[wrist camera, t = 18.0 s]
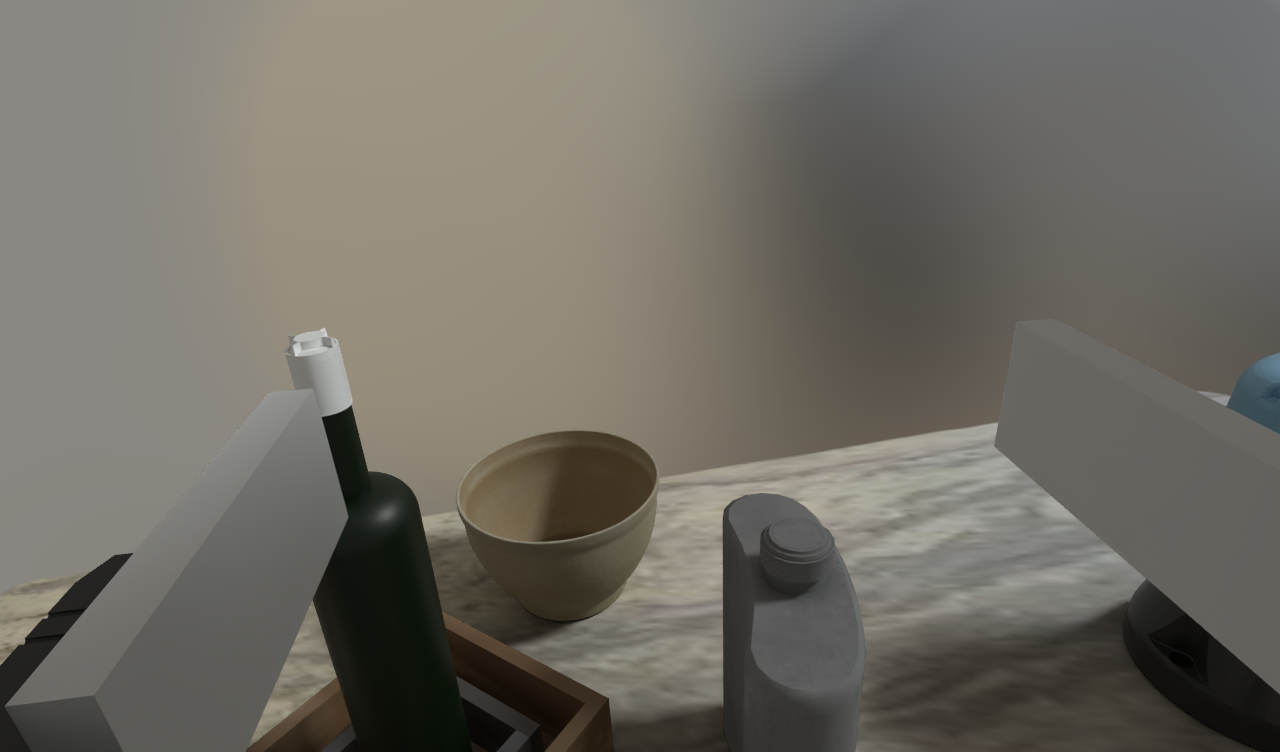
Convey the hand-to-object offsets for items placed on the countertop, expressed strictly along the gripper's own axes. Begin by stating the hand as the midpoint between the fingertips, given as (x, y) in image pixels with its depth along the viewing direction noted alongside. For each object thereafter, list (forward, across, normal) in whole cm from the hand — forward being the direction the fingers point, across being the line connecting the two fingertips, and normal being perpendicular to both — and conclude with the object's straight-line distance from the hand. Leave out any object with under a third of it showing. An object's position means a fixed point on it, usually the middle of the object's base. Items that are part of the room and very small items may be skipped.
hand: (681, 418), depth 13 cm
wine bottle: (+18, -13, -34) cm, 41 cm away
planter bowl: (+37, -4, -35) cm, 51 cm away
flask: (+15, +8, -35) cm, 39 cm away
